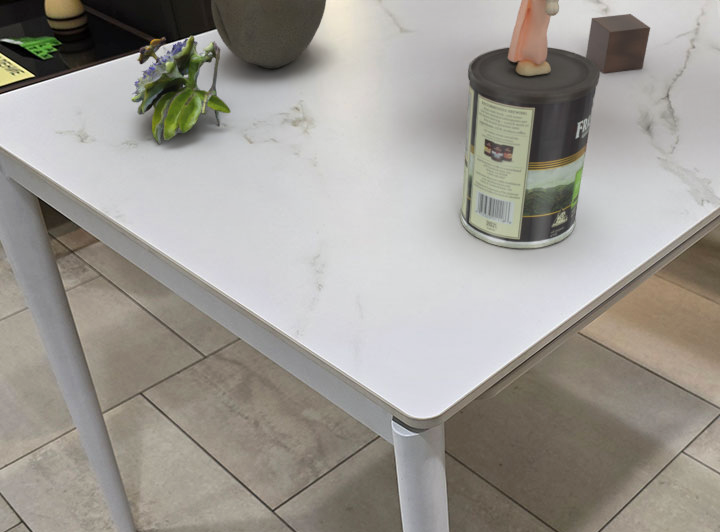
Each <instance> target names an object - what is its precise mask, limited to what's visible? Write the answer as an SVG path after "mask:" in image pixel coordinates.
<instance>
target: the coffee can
mask: <svg viewBox="0 0 720 532" xmlns="http://www.w3.org/2000/svg"><path fill="white" fill-rule="evenodd" d="M509 48H510V46H509V47H503V48H498V49H493V50H489V51H487V52H484V53H482V54H480V55H478V56H477V57H475V58H474V59H473V60H472V61H471V62H470V63H469V65H468V68H467V79H468V81H469V83H468V97H467V98H468V99H467V114H466V130H465V142H464V143H465V144H464V159H463V160H464V161H463V176H462V177H463V178H462V192H461V193H462V194H461V195H462V197H461V208H460V211H459V216H460V221H461V224H462V226H463V227H464V229H465V230H466V231H467V232H468V233H470V234H471V235H472V236H473V237H474V238H477V239H479V240H481V241H483V242H486V243H489V244H491V245H495V246H499V247H504V248H510V249H511V248H512V249H517V250H518V249H538V248H544V247H548V246H551V245H555V244H557V243H560V242H561V241H563V240H564V239H566V238H568V236H570V235H571V234H572V232H573V231H574V230H575V227H576V221H577V219H576V216H577V209H578V203H579V195H580V188H581V184H582V183H581V182H582V177H583V170H584V165H585V158H586V152H587V145H588V141H589V140H588V139H589V133H590V127H591V120H592V115H593V114H592V113H593V108H594V100H595V96H596V90H597V86H598V84H599V79H600V75H601V74H600V70H599V69H598V67H597V66H596V65H595V64H594V63H593V62H592V61H591V60H589V59H587V58H586V56H583V55H582V54H579V53H577V52H573V51H569V50H565V49H561V48H556V47H548V46H547V58H546V60H545V61H546V62H547V63H548V64H549V65H550V68H551V71H550V72H549V73H546V74H540V75H533V76H524V75H520V74H518V73H517V72H516V66H517V64H518V63H516V62H512V61H510V60H509V59H508V54H509Z"/></svg>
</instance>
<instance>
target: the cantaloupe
mask: <svg viewBox="0 0 720 532" xmlns="http://www.w3.org/2000/svg"><path fill="white" fill-rule="evenodd" d="M210 3H211V4H210V6H211V7H210V9H211V15H212V19H213V23H214V26H215V28H216V31H217V33H218V35H219V37H220V39H221V40H222V42H223V44H224V45H225V46H226V48H227V50H229V51H230V52H231V53H232V54H233V55H234V57H236V58H238V60H241V61H244V62H246V63H249V64H253V65H256V66H258V67H261V68H264V69H277V68H278V69H279V68H282V67H283V66H286V65H287V64H290V63H291V62H293V61H294V60H296V59H297V58H299V56H301V55H302V54H303V53H304V52H305V51H306V50H307V48H309V46H310V44H311V43H312V41H313V39H314V37H315V36H316V33H317V32H318V29H319V28H320V25H321V23H322V20H323V17H324V14H325V9H326V5H327V0H210Z"/></svg>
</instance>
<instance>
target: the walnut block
mask: <svg viewBox="0 0 720 532" xmlns="http://www.w3.org/2000/svg"><path fill="white" fill-rule="evenodd" d="M589 28H590V29H589V34H588V40H587V47H586V48H587V49H586V54H585V58H587V59H589V60H591V61H592V62H593V63H594V64H595V65H596V66H597V67H598V69H599V72H601V73H602V74H607V73H609V74H610V73H616V72H625V71H633V70H641V69H643V68H644V62H645V57H646V51H647V48H648V43H649V37H650V31H651V27H650V26H649V25H648V24H646V23H644V22H643V21H641V20H640V19H639V18H637V17H636V16H634V15H633V14H631V13H627V14H626V13H625V14H617V15H607V16H598V17H592V18H591V21H590V27H589Z"/></svg>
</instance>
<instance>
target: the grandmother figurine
mask: <svg viewBox="0 0 720 532" xmlns="http://www.w3.org/2000/svg"><path fill="white" fill-rule="evenodd" d="M559 2H560V0H521V2H520V5H519V9H518V11H517V16H516V21H515V24H514V27H513V30H512V31H513V32H512V35H511V40H510V44H509V47H510V48H509V47H508V48H509V54H508V59H509V60H510V61H512V62H516V63H518V64H517V66H516V72H517V73H518V74H520V75H524V76H533V75H540V74H546V73H549V72H550V71H551V68H550V65H549V64H548V63H547V62H546V61H545V60H546V58H547V47H548V34H547V33H548V28H549V25H550V22H551V17H552V16H557V14H559V12H560V5H559V4H560V3H559Z"/></svg>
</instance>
